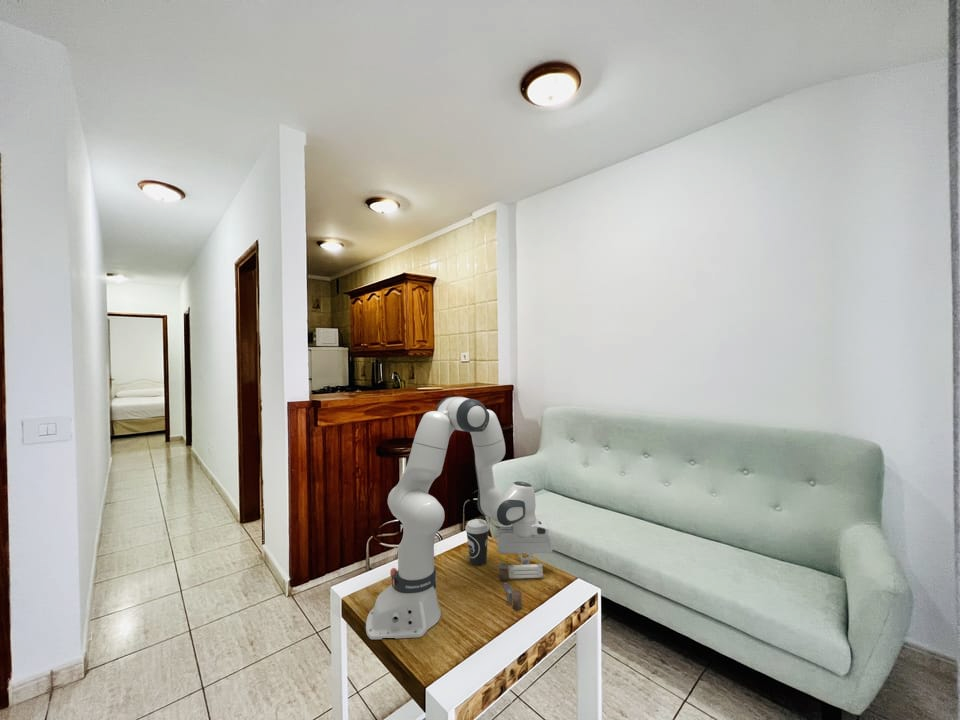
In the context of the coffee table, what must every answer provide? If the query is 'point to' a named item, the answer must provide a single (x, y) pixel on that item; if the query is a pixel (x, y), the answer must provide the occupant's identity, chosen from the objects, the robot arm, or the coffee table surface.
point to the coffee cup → (477, 541)
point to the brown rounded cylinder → (515, 599)
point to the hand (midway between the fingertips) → (525, 563)
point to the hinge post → (503, 572)
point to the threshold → (508, 588)
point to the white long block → (526, 571)
